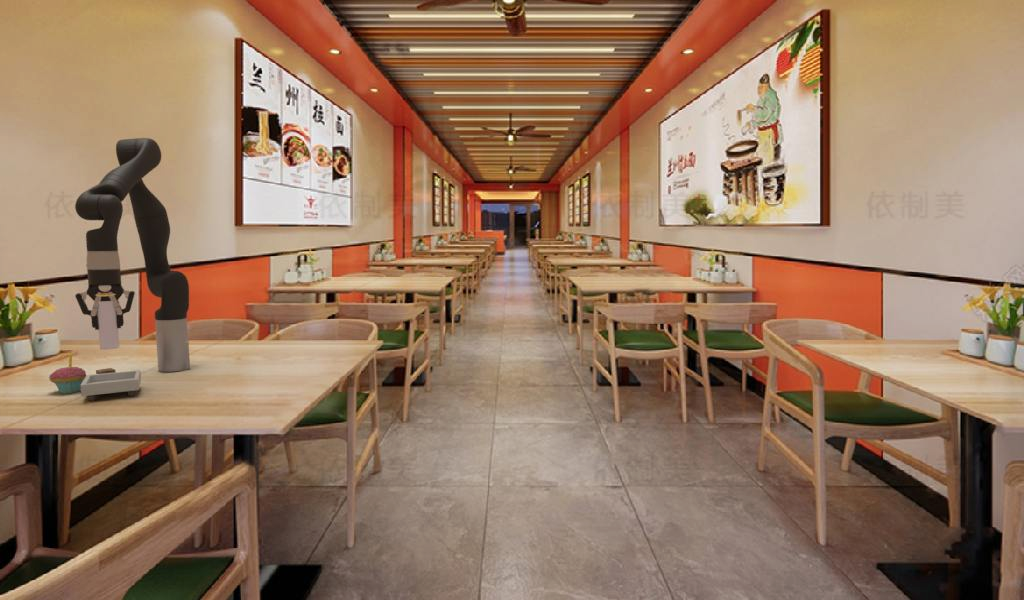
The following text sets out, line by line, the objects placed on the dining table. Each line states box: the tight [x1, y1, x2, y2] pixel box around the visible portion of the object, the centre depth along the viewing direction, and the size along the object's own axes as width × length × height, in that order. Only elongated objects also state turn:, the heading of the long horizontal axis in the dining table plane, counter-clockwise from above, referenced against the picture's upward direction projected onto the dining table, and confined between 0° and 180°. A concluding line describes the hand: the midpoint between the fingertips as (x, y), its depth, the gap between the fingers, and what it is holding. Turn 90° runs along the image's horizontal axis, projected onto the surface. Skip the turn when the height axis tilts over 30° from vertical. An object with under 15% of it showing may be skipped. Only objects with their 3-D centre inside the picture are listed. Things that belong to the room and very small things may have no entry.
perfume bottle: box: [94, 285, 120, 351], centre depth 163 cm, size 6×6×20 cm
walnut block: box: [95, 367, 117, 374], centre depth 179 cm, size 4×4×4 cm
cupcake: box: [48, 351, 87, 394], centre depth 168 cm, size 9×8×12 cm
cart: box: [80, 369, 142, 402], centre depth 165 cm, size 13×13×5 cm
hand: (108, 328), depth 164 cm, fingers closed on perfume bottle, 4 cm apart
